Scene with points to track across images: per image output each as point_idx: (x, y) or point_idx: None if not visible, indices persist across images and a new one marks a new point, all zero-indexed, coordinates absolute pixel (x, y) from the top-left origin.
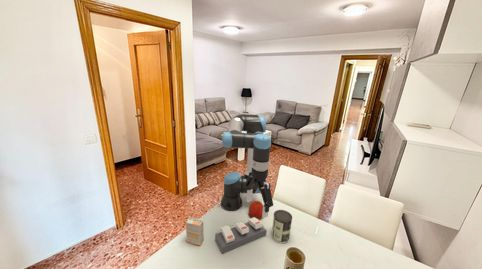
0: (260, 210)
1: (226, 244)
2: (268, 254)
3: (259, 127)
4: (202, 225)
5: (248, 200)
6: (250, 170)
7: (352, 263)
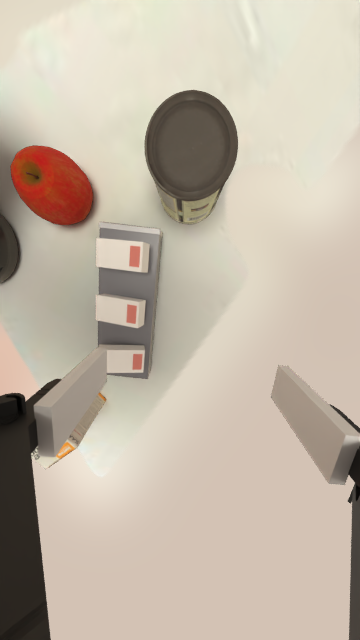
0: (73, 186)
1: (144, 367)
2: (215, 276)
3: None
4: None
5: (103, 378)
6: None
7: None
